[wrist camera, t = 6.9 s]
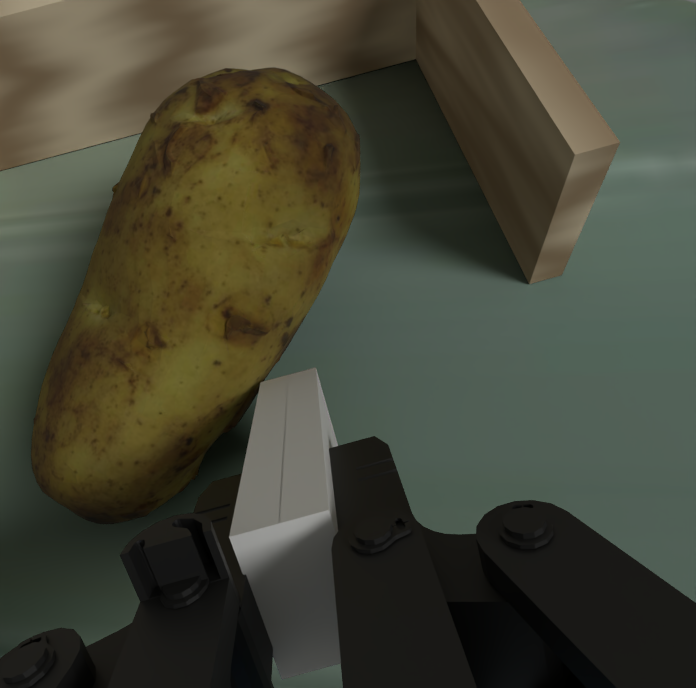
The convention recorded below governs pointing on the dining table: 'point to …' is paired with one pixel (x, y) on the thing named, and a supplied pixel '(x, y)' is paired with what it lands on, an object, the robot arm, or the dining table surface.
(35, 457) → the potato
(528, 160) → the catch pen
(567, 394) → the dining table surface
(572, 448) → the dining table surface
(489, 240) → the dining table surface
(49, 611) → the dining table surface
